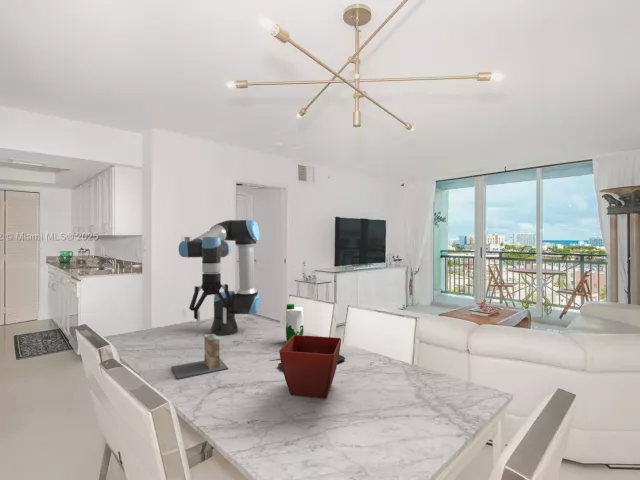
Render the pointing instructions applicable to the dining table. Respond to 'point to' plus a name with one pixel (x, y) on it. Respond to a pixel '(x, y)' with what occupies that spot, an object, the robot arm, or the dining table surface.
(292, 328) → the milk carton
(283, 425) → the dining table surface
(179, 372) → the rubber mat
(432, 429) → the dining table surface
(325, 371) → the plant pot
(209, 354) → the oak slab
